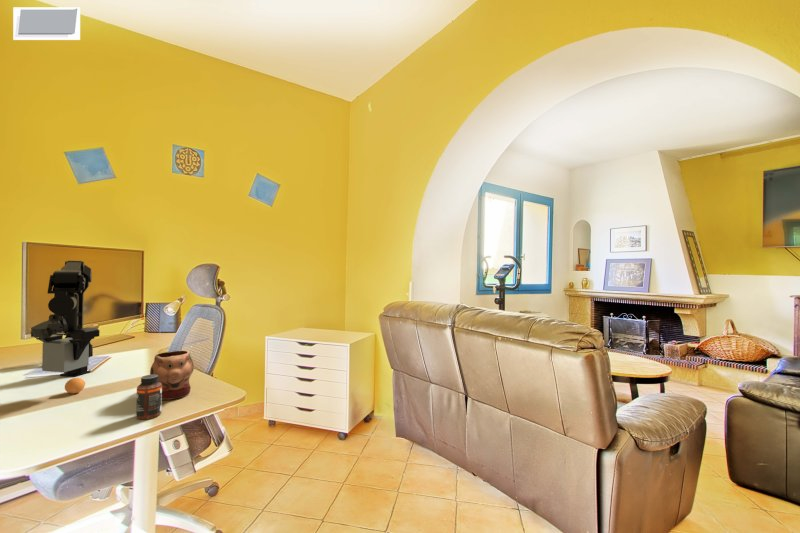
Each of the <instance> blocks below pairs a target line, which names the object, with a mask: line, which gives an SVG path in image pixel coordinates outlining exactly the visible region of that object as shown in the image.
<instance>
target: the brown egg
mask: <svg viewBox="0 0 800 533" xmlns="http://www.w3.org/2000/svg"><path fill="white" fill-rule="evenodd" d="M85 387H86V381H85V380H84V379H83V378H82V377H74V378H73V377H72V378H71V379H69V380H67V381H66V382H65V385H64V390H65V392H67V393H68V394H77V393H80V392H81V391H83V390H84V389H85Z"/></svg>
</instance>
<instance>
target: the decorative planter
mask: <svg viewBox="0 0 800 533" xmlns="http://www.w3.org/2000/svg"><path fill="white" fill-rule="evenodd" d="M194 368H195V365H194V361H193V359H192V357H191V353H190V352H189V351H188V350H173V351H164V352H159V353H157V354H155V356H154V360H153V363H152V364H151V366H150V370H149V375H152V374H156V375H158V381H159V382H161V384H162V400H173V399H179V398H183V397H186V396H189V395H190V392H191V387H192V386H191V385H190V384H191V383H190V379H191V376H192V374H193V372H194V370H195V369H194Z"/></svg>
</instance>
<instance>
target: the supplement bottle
mask: <svg viewBox="0 0 800 533" xmlns="http://www.w3.org/2000/svg"><path fill="white" fill-rule="evenodd" d="M140 382H141V383H140V384H138V386H137V387H136V407H135V408H136V411H135V412H136V413H135V414H136V418H137V419H139V420H149V419H153V418H157V417H158V416H160V415H161V414H162V409H163V408H162V407H163V406H162V404H163V403H162V402H163V399H162V384H161V382H159V381H158V375H156V374H152V375H150V374H147V375H144V376H142V377H140Z"/></svg>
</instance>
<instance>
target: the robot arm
mask: <svg viewBox="0 0 800 533" xmlns="http://www.w3.org/2000/svg"><path fill="white" fill-rule="evenodd" d="M92 281H93V274H92V268H91V267H89V266H88V265H86V264H85V261H82V260H66V261H65V262H64V265H63V266H62V267H61V269H59V270H55V271H53V273H52V274H50V275H49V281H48V287H47V294H48V295H50V294H51V295H52V294H53V295H54V296H53V297H52V298H51V299H50V300H49V302H48V304H47V307H48V309H49V311H50V312H51V313H52V314H49V316H48V320H45V321H42V322H40V323H38V324H36V325H34V326H32V327H30V329H31V331H30V338H35V339H36V340H37V341H41V342H42V343H44V342H49V341H54V340H59V339H62V337H63V336H64V338H72V340H69V341H70V342H71V343H72V344H73V355H74V360H78V359H79V358H80V356H81V355H82V353H83V351H84V350H85V348H86V346H87V345H88V344H89V358H91V357H93V355H94V353H93V344H92V343H91V341H92V340H93V339H95V338H97V337H100V333H101V332H100V329H99V328H98V327H84V312H85V310H84V309H85V308H84V307H85V306H84V305H85V304H84V302H85V299H84V298H85V293H86V291H87V290H88V289H89V287H90V283H92ZM65 335H67V336H65ZM88 366H89V365H88ZM88 366H85V367H81V368H78V369H74V370H71V371H67V372H61V373H60V374H59V376H61V377H72V378H73V377H74V378H75V377H78V376H81V375H84V374H88V373H91V370H90V369H88V368H89V367H88ZM87 370H89V371H87Z"/></svg>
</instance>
